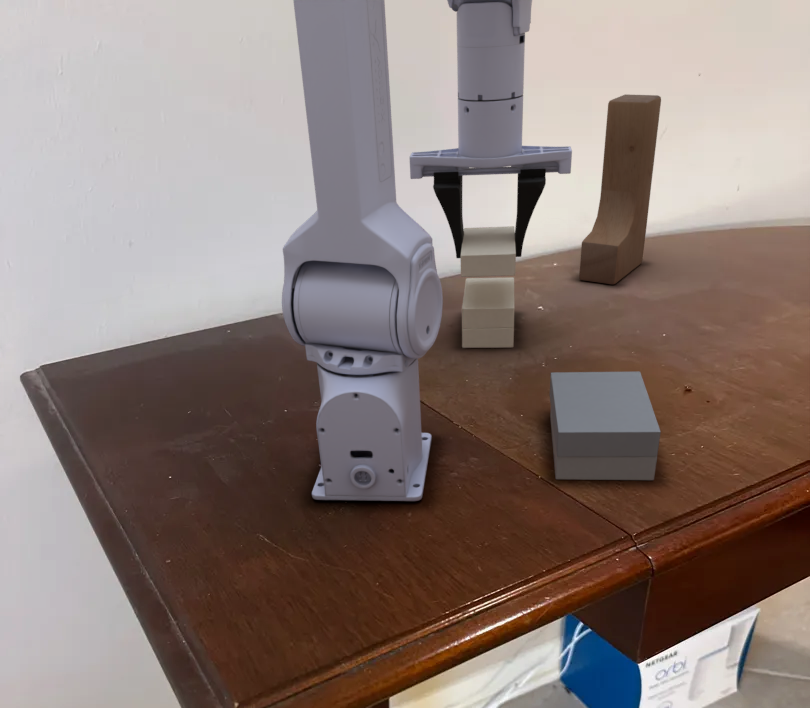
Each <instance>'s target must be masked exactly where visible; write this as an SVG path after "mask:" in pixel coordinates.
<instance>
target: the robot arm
mask: <svg viewBox="0 0 810 708" xmlns="http://www.w3.org/2000/svg"><path fill="white" fill-rule="evenodd" d="M292 1H293V9H294V18H295V27H296V35H297V43H298V53H299V61H300V62H299V63H300V71H301V79H302V88H303V98H304V106H305V113H306V122H307V133H308V139H309V140H308V141H309V150H310V157H311V166H312V175H313V183H314V192H315V201H316V207H317V208H316V211H315V212H314V213H313V214H312V215H311V216H310V217H309V218H308V219H307V220H305V221H304V222H303V223H302V224H301V225H300V226H299V227H298V228H297V229H296V230H295V231H294V232H293V233H292V234H291V235H290V236H289V237H288V239H287V241H286V242H285V244H284V245H283V246H282V256H283V274H284V275H283V285H282V291H281V310H282V312H281V313H282V317H283V320H284V324H285V326H286V328H287V331H288V333H289V335H290V336H291V338H292V340H293V341H294V342H295V343H297V345H300V346H302V347H304V348H305V356H306V361H309V362H313V363H314V362H315V363H316V370H317V376H318V384H319V385H318V386H319V392H320V401H321V403H320V407H319V409H318V413H317V416H316V421H315V422H316V423H315V424H316V425H315V426H316V428H315V429H316V435H317V436H316V437H317V443H318V452H319V459H320V468H319V471H318V474H317V477H316V480H315V483H314V484H313V488H312V491H311V497H312V499H313V500H316V501H360V502H361V501H362V502H363V501H367V502H368V501H370V502H373V501H374V502H379V501H380V502H418V501H420V500H422V498H423V494H424V488H425V483H426V476H427V471H428V463H429V457H430V453H431V452H430V451H431V446H432V440H433V439H432V438H433V437H432V434H431V433H429V432H422V413H421V412H422V411H421V391H420V390H421V389H420V372H419V371H420V369H419V359H421V358H424V356H425V355H426V354H427V353H428V352H429V350H430V349H431V348H432V347H433V346H434V344H435V342H436V340H437V337H438V334H439V332H440V328H441V324H442V318H443V317H442V316H443V307H444V306H443V305H444V304H443V303H444V299H443V298H444V297H443V295H444V294H443V286H442V282H441V279H440V276H439V274H438V269H437V265H436V264H437V263H436V255H435V247H434V246H433V237H432V236H431V235H430V233H429V232H427V230H425V228H423V227H422V226H421V224H419V223H418V222H417V221H416V220H414V218H412V217H411V216H410V215H409V214H408V213H407V212H406V211H404V210H403V208H402V207H400V205H399V204H398V203H397V193H396V192H397V190H396V187H397V186H396V172H395V171H396V169H395V155H394V140H393V139H394V138H393V122H392V106H391V105H392V104H391V87H390V69H389V55H388V53H389V52H388V39H387V36H388V35H387V22H386V20H387V19H386V18H387V17H386V4H385V0H292ZM446 1H447V5H448V7H449V8H450V9H451V10H452V11H453V12H456V54H457V55H456V62H457V63H456V64H457V65H456V66H457V72H456V73H457V143H458V144H457V145H458V147H456V148H447V149H439V150H438V149H437V150H428V151H412V152H411V153H410V155H409V176H410V177H409V178H410V179H411V180H421V179H423V178H430V177H431V178H432V177H433V185H432V188H433V192H434V194H435V196H436V198H437V200H438V202H439V204H440V206H441V209H442V211H443V213H444V215H445V218H446V220H447V223H448V226H449V229H450V233H451V236H452V241H453V244H454V250H455V258H456V259H461V248H462V243H463V237H464V218H463V177H464V176H485V175H487V176H490V175H516V174H517V190H516V191H517V193H516V219H515V226H514V230H515V247H516V258H521V257H522V255H523V254H522V253H523V246H524V241H525V238H526V233H527V230H528V226H529V223H530V221H531V218H532V215H533V213H534V211H535V208H536V206H537V204H538V203H539V200H540V198H541V196H542V194H543V192H544V189H545V187H546V181H547V179H546V174H549V173H558V174H559V175H569V174H571V172H572V159H573V158H572V157H573V150H572V146H568V145H567V146H566V145H565V146H550V145H549V146H547V145H545V146H544V145H523V124H524V123H523V122H524V121H523V119H524V89H525V88H524V84H525V52H526V51H525V50H526V49H525V47H526V33H528V32H529V31H530V28H531V24H532V4H533V0H446Z"/></svg>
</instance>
